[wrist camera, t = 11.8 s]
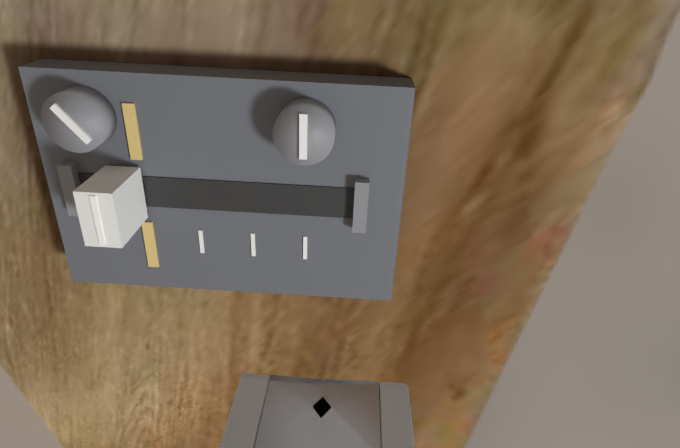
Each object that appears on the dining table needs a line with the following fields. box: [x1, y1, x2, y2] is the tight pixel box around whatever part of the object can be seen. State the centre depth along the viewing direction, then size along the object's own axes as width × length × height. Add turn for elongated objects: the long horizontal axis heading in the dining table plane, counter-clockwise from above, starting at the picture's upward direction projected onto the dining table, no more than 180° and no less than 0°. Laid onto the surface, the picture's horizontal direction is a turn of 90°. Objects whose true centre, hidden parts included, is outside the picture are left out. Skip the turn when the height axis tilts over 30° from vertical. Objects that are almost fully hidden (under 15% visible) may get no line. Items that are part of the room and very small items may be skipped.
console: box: [18, 58, 415, 300], centre depth 37 cm, size 17×26×5 cm, turn 87°
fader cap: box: [73, 165, 148, 248], centre depth 34 cm, size 4×2×5 cm, turn 177°
